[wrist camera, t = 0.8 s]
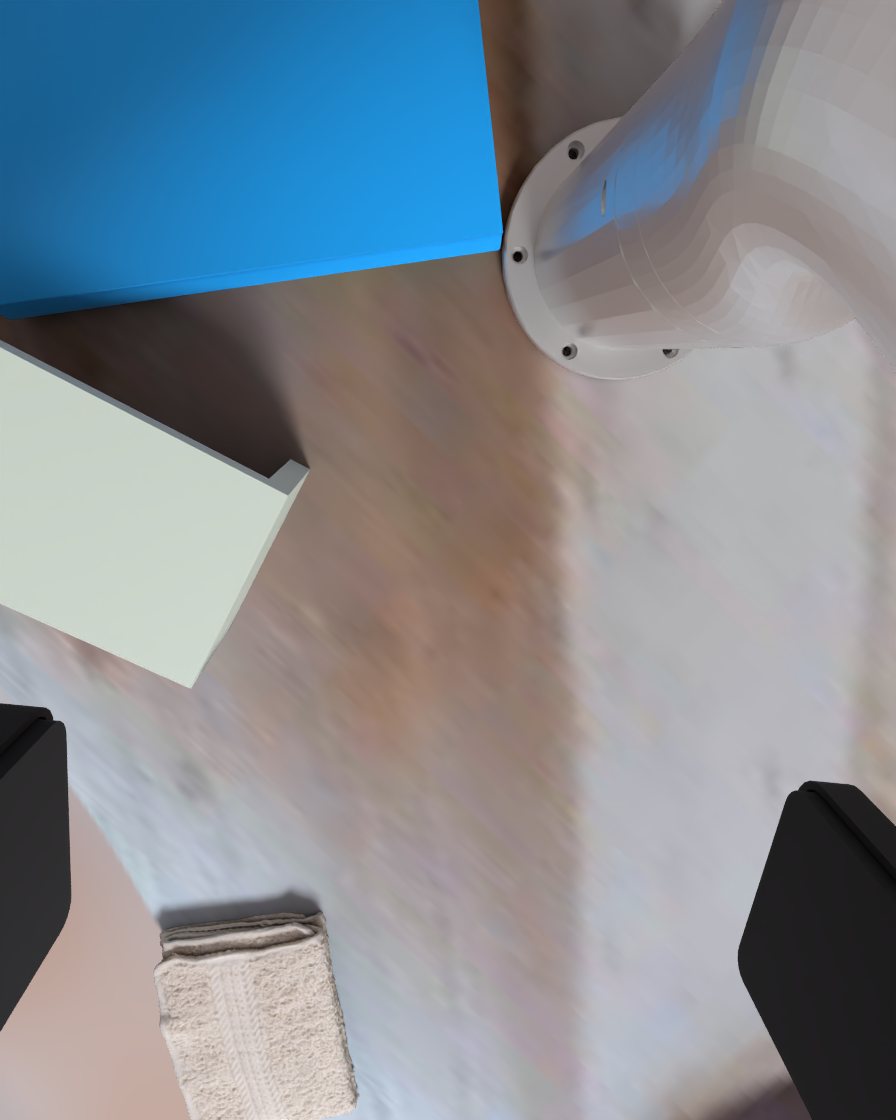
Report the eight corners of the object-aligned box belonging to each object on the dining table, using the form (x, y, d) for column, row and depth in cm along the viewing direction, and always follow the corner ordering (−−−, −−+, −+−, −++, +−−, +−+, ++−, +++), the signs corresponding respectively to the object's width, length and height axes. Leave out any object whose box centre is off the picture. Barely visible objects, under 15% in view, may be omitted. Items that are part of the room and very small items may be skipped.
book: (-152, -116, 29) (456, -213, 29) (-80, -56, 33) (451, -141, 33) (-11, 324, 33) (509, 241, 33) (36, 327, 38) (499, 254, 38)
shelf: (-61, 274, 36) (-182, 253, 28) (310, 469, 40) (288, 495, 32) (-128, 463, 38) (-255, 489, 31) (228, 630, 42) (190, 688, 35)
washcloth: (324, 896, 49) (319, 931, 46) (364, 1088, 54) (362, 1131, 51) (152, 920, 48) (135, 957, 45) (208, 1111, 53) (197, 1156, 50)
